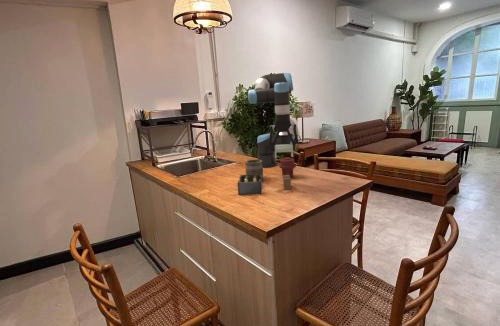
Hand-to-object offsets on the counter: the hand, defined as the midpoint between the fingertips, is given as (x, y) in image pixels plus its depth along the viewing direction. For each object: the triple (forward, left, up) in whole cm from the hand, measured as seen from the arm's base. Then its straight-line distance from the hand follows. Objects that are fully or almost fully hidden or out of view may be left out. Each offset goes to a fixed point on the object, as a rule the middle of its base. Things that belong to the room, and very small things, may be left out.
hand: (284, 156), depth 145 cm
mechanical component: (-20, +3, -17) cm, 27 cm away
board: (0, 0, +4) cm, 4 cm away
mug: (-19, -17, -17) cm, 31 cm away
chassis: (+1, -19, -17) cm, 26 cm away
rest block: (0, +1, -17) cm, 17 cm away
